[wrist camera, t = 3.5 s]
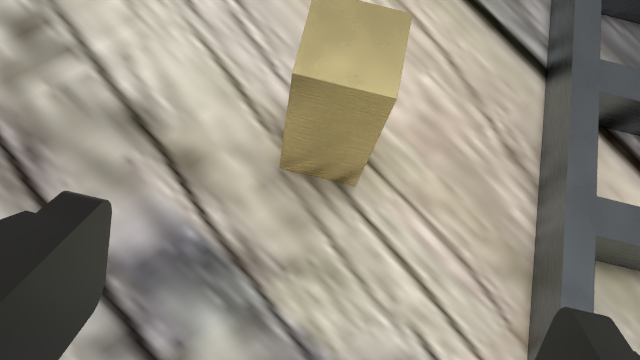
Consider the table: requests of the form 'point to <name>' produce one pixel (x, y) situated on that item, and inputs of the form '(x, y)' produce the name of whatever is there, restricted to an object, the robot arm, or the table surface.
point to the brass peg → (343, 87)
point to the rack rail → (580, 163)
